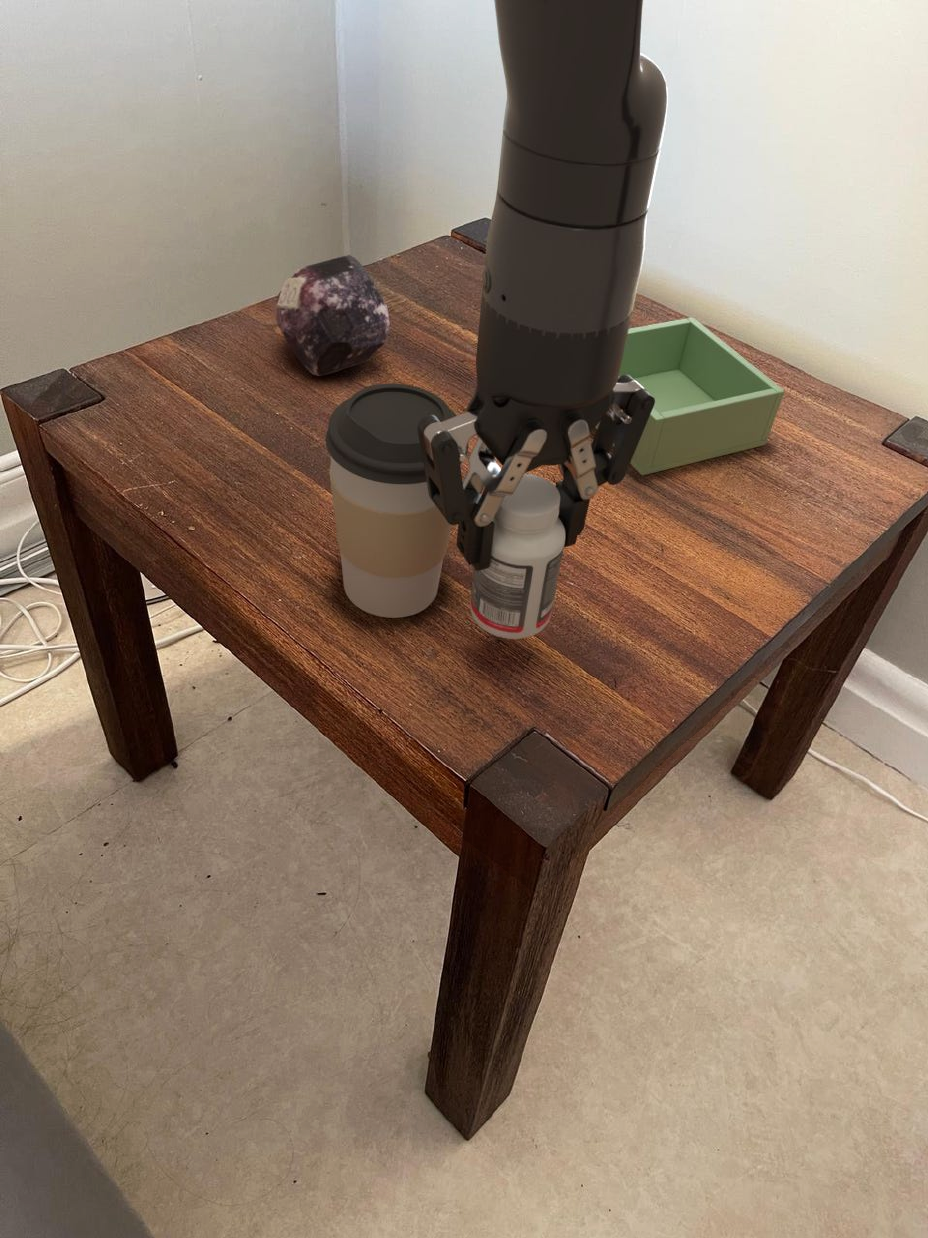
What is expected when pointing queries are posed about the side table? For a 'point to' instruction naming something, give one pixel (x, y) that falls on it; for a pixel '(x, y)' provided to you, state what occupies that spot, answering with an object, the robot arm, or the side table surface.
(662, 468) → the bin
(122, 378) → the side table surface
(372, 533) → the coffee cup
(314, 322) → the mineral specimen
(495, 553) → the pill bottle
